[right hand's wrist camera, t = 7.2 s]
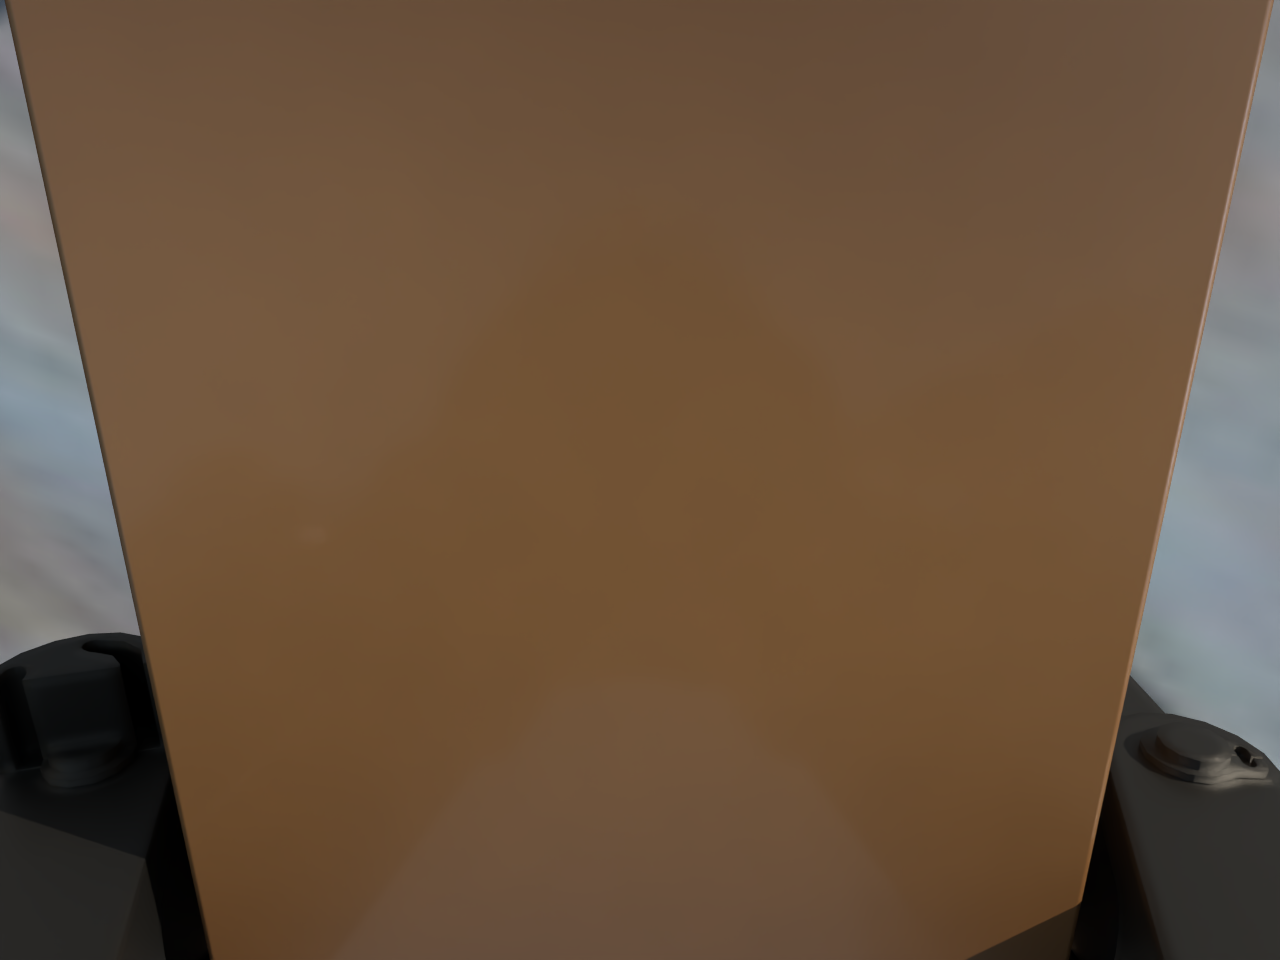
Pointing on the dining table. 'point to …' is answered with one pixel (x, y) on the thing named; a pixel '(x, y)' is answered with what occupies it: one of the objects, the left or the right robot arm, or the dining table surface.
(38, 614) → the dining table surface
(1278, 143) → the dining table surface
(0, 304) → the dining table surface
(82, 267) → the box
